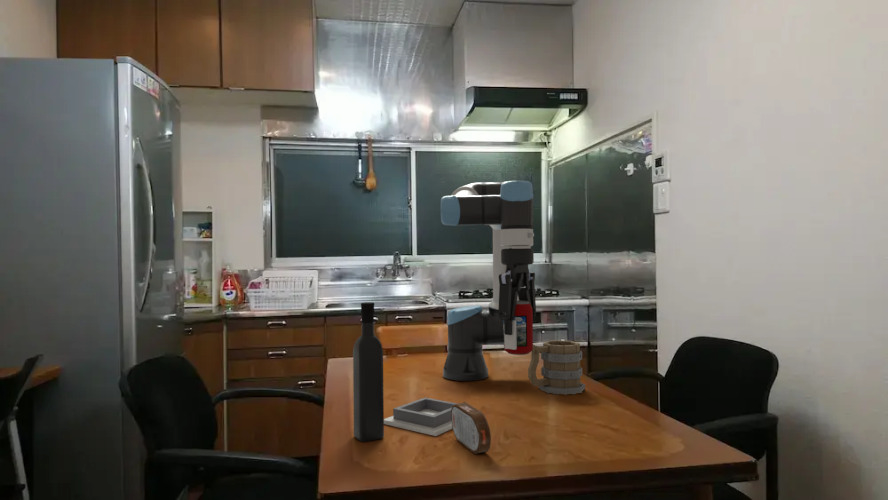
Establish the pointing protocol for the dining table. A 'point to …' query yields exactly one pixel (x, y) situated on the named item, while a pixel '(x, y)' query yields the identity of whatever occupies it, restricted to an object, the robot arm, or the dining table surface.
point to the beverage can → (523, 328)
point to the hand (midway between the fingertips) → (518, 346)
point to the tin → (470, 427)
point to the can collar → (423, 416)
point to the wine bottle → (368, 380)
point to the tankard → (557, 367)
